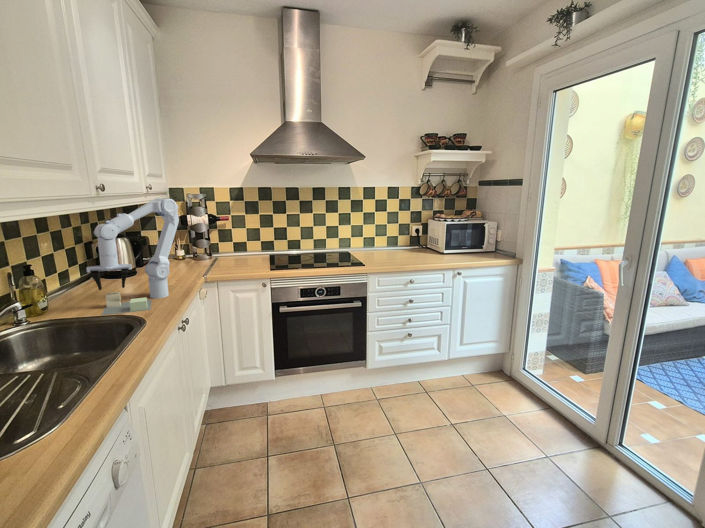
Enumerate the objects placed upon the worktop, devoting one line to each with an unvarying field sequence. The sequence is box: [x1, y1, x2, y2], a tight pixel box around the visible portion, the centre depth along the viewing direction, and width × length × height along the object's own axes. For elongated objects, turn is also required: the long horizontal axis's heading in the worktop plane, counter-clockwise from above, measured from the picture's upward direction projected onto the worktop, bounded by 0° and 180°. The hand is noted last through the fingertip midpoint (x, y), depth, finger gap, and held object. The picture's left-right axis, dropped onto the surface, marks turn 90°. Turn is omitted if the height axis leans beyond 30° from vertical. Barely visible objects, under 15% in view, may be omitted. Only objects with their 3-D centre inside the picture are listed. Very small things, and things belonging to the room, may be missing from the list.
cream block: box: [105, 291, 122, 308], centre depth 139 cm, size 4×4×5 cm
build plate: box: [100, 299, 152, 317], centre depth 139 cm, size 15×16×1 cm
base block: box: [129, 297, 148, 312], centre depth 137 cm, size 6×6×4 cm
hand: (112, 288), depth 138 cm, fingers open, 7 cm apart
